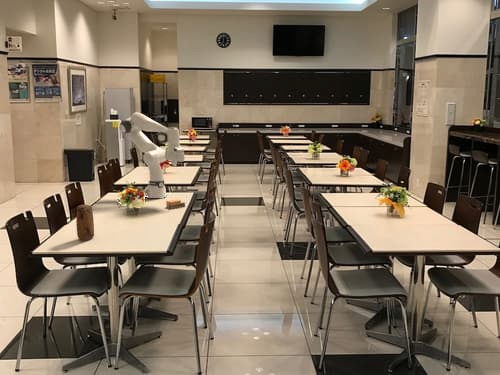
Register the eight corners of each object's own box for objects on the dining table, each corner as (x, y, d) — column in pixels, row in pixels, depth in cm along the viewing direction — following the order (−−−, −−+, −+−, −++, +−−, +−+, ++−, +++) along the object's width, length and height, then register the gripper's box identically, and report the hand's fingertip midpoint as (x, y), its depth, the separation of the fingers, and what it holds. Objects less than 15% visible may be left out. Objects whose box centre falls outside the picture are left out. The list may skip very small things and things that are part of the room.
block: (83, 236, 308) (81, 203, 304) (95, 236, 307) (93, 203, 304) (75, 241, 297) (73, 207, 294) (88, 242, 297) (86, 207, 293)
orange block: (166, 207, 388) (166, 201, 387) (175, 205, 394) (175, 199, 393) (171, 208, 384) (171, 202, 383) (181, 206, 390) (180, 200, 389)
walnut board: (169, 209, 382) (169, 205, 381) (183, 206, 391) (183, 202, 390) (171, 209, 380) (170, 205, 380) (185, 206, 389) (184, 202, 389)
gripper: (162, 147, 399) (163, 165, 402) (178, 149, 385) (179, 168, 388) (169, 147, 404) (169, 164, 406) (185, 149, 389) (185, 167, 392)
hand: (174, 166), depth 397 cm, fingers closed
